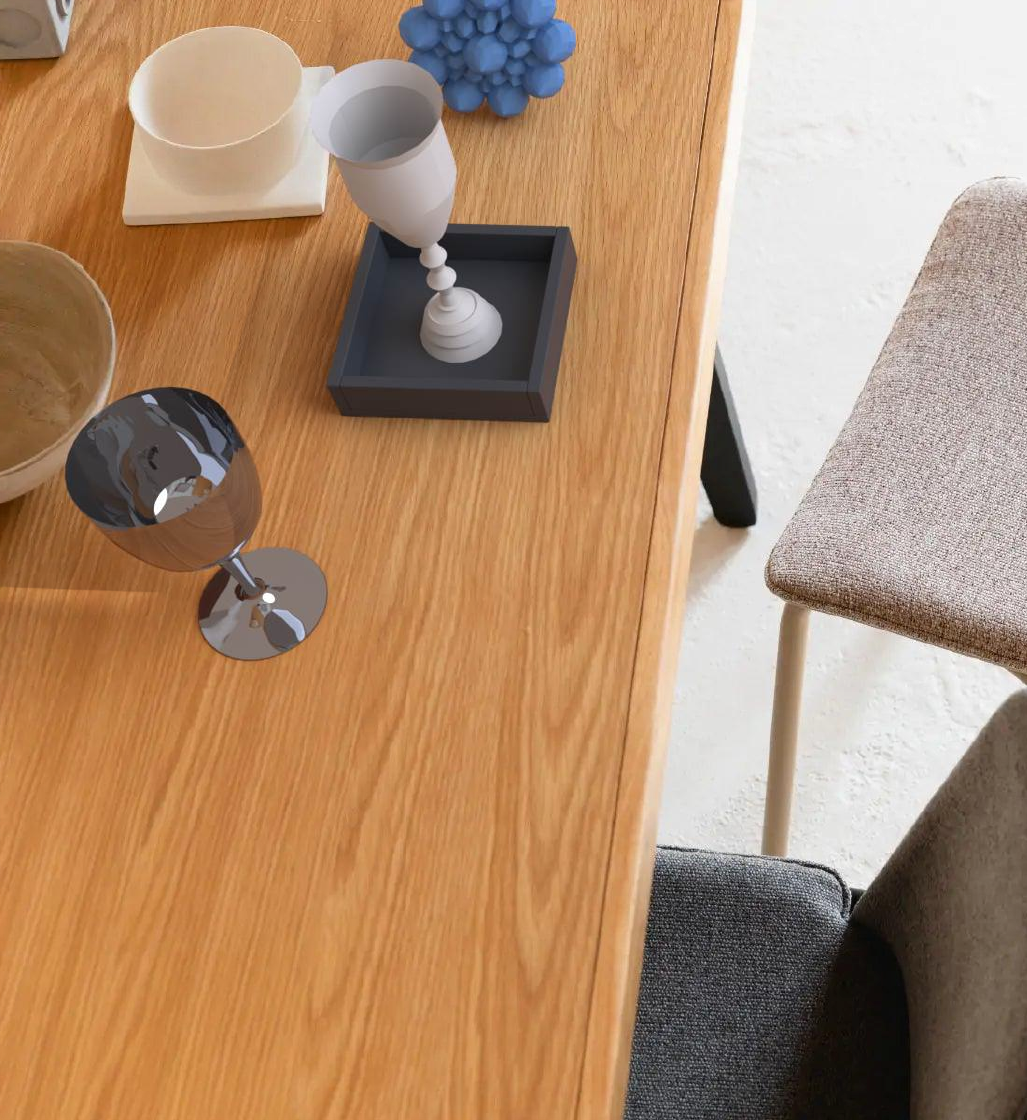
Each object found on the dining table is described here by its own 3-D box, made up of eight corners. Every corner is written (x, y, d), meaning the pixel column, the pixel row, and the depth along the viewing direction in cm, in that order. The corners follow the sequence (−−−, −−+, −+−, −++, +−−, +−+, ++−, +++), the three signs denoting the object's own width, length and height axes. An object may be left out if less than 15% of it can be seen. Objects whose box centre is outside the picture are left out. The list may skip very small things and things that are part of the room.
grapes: (601, 70, 104) (571, -79, 93) (587, 142, 100) (555, -5, 90) (434, 66, 104) (386, -83, 94) (416, 137, 101) (364, -9, 90)
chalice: (520, 369, 90) (446, 152, 75) (407, 385, 90) (308, 171, 74) (513, 276, 94) (440, 50, 78) (404, 291, 93) (309, 68, 78)
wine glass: (267, 692, 81) (151, 556, 68) (160, 624, 83) (27, 479, 70) (364, 581, 84) (271, 431, 71) (258, 518, 86) (149, 361, 73)
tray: (341, 416, 90) (324, 385, 87) (382, 254, 96) (368, 220, 93) (549, 422, 89) (539, 392, 86) (578, 259, 95) (569, 225, 93)
